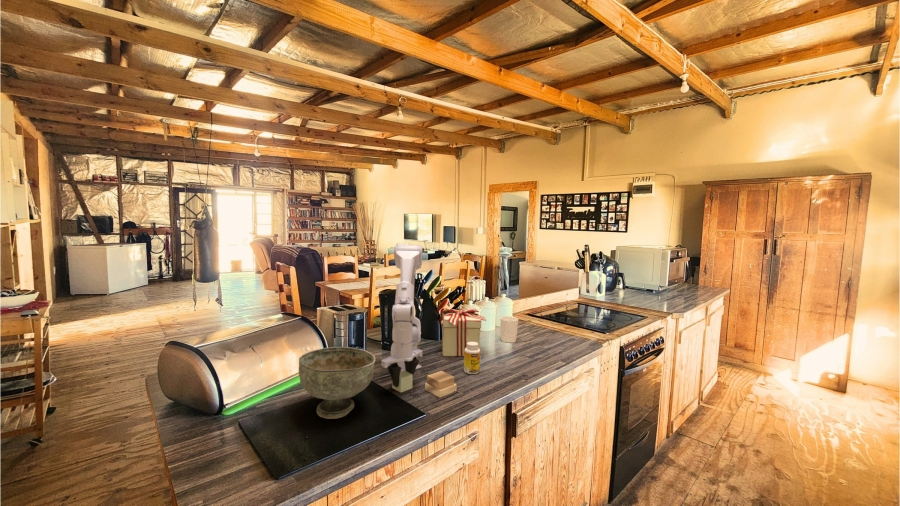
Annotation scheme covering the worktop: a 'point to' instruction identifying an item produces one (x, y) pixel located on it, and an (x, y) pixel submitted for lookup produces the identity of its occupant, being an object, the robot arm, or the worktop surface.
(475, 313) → the gift box
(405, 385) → the cube
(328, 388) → the bowl
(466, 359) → the supplement bottle
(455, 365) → the worktop surface
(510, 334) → the beige speckled cup
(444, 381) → the top slab
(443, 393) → the bottom slab
